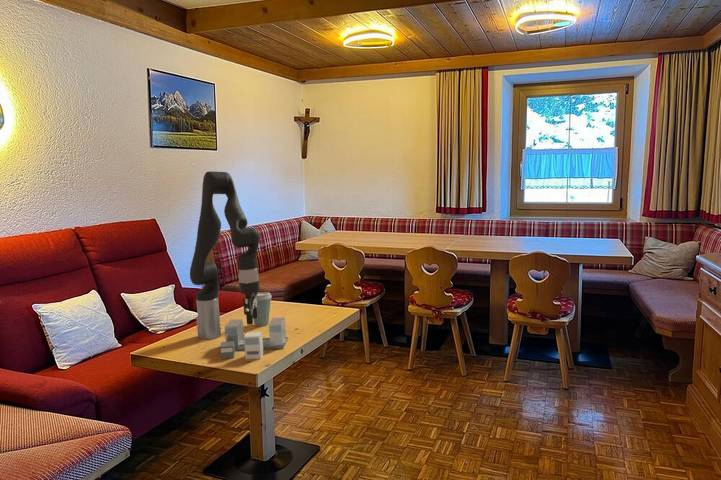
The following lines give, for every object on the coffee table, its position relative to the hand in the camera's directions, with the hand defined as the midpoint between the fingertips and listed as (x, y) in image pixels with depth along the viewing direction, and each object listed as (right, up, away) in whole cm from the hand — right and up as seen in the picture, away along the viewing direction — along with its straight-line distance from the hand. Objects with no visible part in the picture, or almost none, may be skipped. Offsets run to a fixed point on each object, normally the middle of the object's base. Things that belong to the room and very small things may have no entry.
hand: (252, 321), depth 208 cm
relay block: (-10, -15, +4) cm, 18 cm away
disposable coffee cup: (-5, -9, +47) cm, 48 cm away
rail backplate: (-1, -12, +16) cm, 20 cm away
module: (0, -14, +2) cm, 14 cm away
